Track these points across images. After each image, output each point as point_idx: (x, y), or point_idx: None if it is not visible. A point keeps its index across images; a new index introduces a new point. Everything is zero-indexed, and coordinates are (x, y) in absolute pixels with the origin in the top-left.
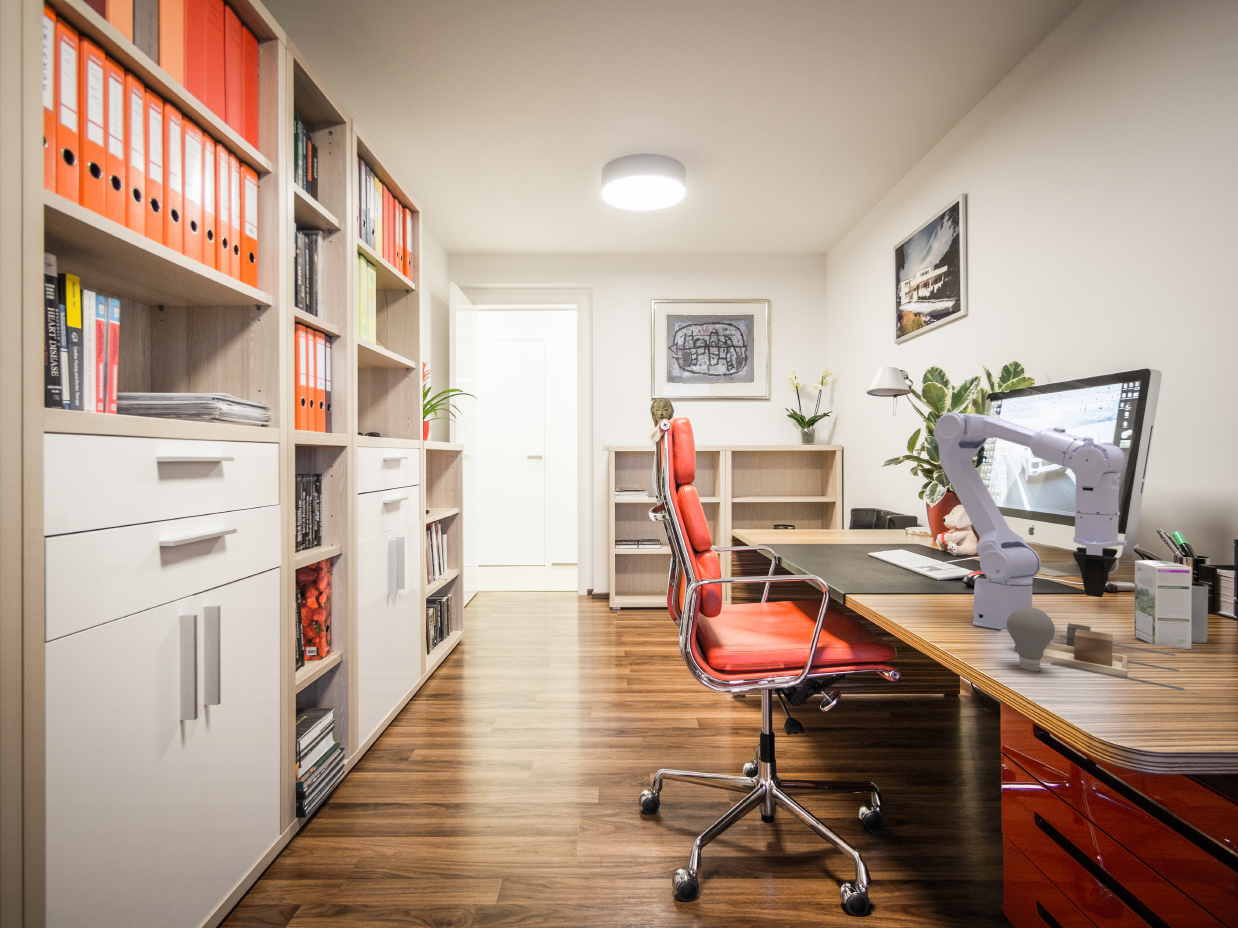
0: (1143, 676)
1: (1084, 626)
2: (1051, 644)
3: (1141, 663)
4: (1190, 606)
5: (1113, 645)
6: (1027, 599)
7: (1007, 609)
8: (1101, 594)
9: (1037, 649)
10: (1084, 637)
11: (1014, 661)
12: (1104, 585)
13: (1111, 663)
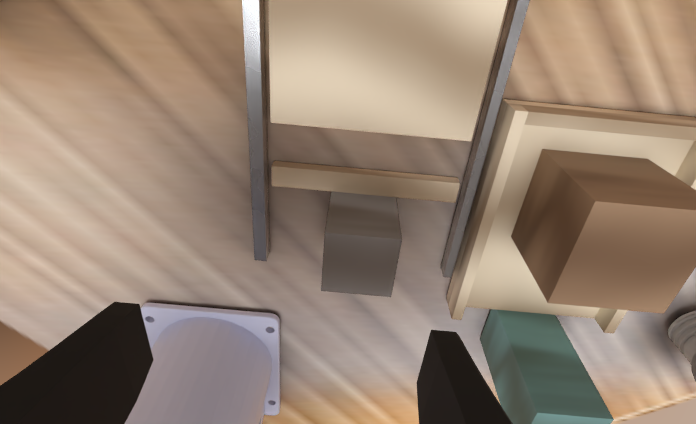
0: (608, 58)
1: (339, 249)
2: (466, 297)
3: (505, 56)
4: None
5: (263, 121)
6: (209, 420)
7: (259, 417)
8: (466, 350)
9: None
10: (678, 287)
11: (590, 343)
12: (498, 405)
13: (665, 170)
